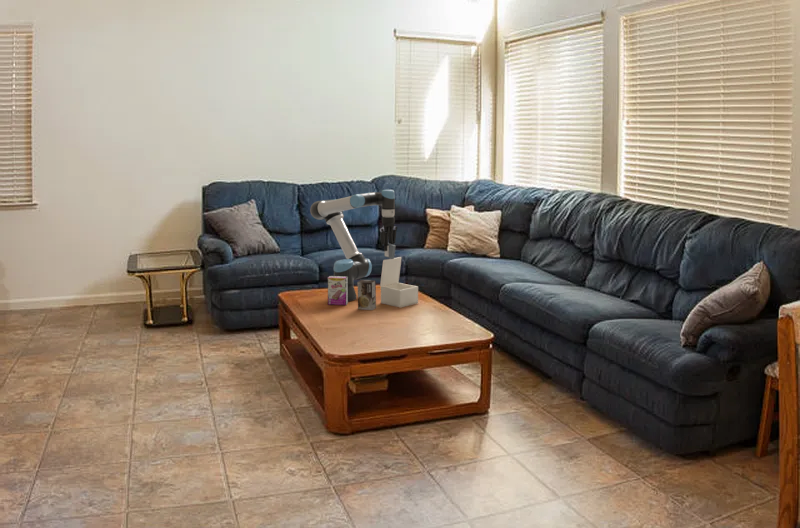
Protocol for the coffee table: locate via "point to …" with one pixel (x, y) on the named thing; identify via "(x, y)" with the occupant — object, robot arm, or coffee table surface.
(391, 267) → the flap
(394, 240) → the robot arm
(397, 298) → the carton
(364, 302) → the coffee box
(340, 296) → the candy bar box
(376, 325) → the coffee table surface
